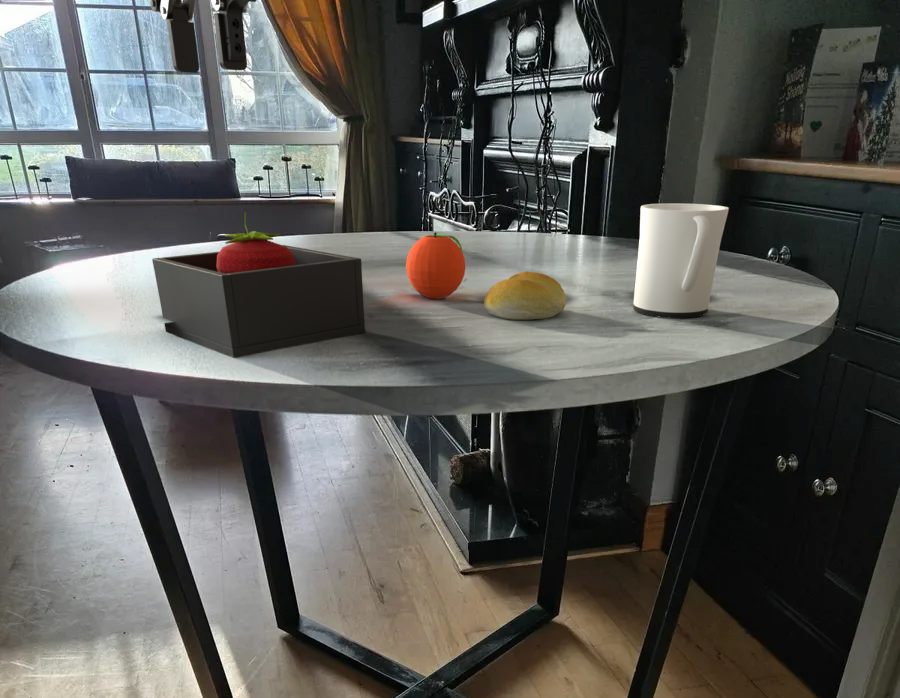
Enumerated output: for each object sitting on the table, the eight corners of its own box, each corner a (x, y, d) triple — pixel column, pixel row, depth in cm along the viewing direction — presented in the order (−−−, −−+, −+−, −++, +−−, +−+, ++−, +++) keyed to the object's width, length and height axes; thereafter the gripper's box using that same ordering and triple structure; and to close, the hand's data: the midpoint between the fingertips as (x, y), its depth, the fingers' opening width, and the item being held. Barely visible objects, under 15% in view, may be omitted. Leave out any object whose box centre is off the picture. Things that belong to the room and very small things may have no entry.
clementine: (442, 289, 97) (441, 227, 94) (483, 296, 93) (484, 231, 90) (394, 298, 93) (392, 232, 89) (436, 306, 88) (435, 237, 85)
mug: (619, 303, 90) (630, 203, 84) (693, 302, 90) (709, 203, 85) (649, 324, 80) (663, 213, 75) (732, 322, 81) (752, 212, 76)
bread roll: (473, 317, 83) (473, 277, 81) (508, 302, 90) (510, 265, 88) (544, 324, 80) (547, 283, 78) (576, 309, 87) (579, 271, 85)
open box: (233, 357, 69) (221, 275, 65) (165, 332, 77) (151, 258, 74) (365, 332, 77) (361, 258, 74) (290, 312, 86) (283, 244, 82)
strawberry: (296, 330, 74) (284, 214, 69) (217, 330, 74) (200, 214, 69) (306, 317, 79) (296, 208, 74) (232, 317, 79) (217, 208, 74)
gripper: (92, -177, 61) (133, 71, 70) (173, -226, 52) (208, 66, 61) (182, -156, 66) (210, 75, 74) (271, -198, 57) (291, 71, 65)
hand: (209, 71), depth 67 cm, fingers open, 8 cm apart
